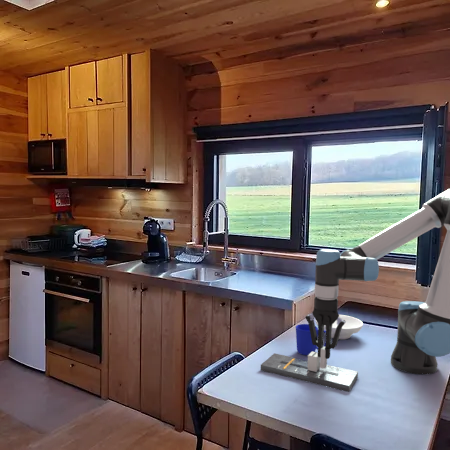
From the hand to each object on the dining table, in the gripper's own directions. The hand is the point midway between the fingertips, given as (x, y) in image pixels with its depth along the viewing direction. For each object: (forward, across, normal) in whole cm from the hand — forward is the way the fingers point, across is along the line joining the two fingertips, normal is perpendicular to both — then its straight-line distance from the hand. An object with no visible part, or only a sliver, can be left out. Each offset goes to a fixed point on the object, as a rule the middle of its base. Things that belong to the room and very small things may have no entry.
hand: (323, 366), depth 141 cm
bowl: (+4, +6, -42) cm, 43 cm away
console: (+4, +5, 0) cm, 6 cm away
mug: (+4, +10, -18) cm, 21 cm away
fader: (+1, +3, 0) cm, 4 cm away
